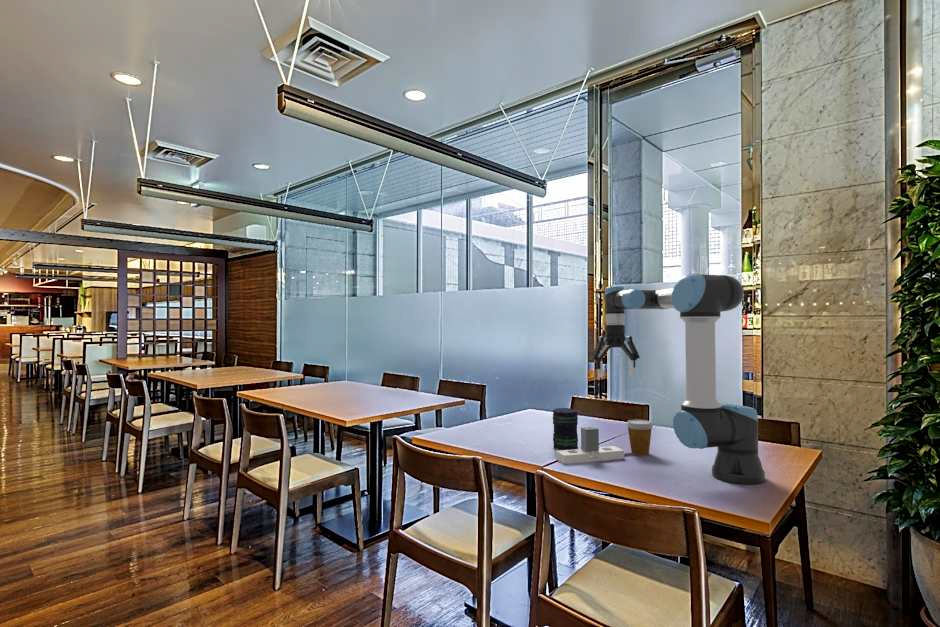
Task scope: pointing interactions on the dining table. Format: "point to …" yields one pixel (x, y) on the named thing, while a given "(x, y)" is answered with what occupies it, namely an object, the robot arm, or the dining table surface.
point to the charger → (590, 439)
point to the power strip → (584, 456)
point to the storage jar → (565, 429)
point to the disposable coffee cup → (639, 436)
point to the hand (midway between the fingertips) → (615, 376)
